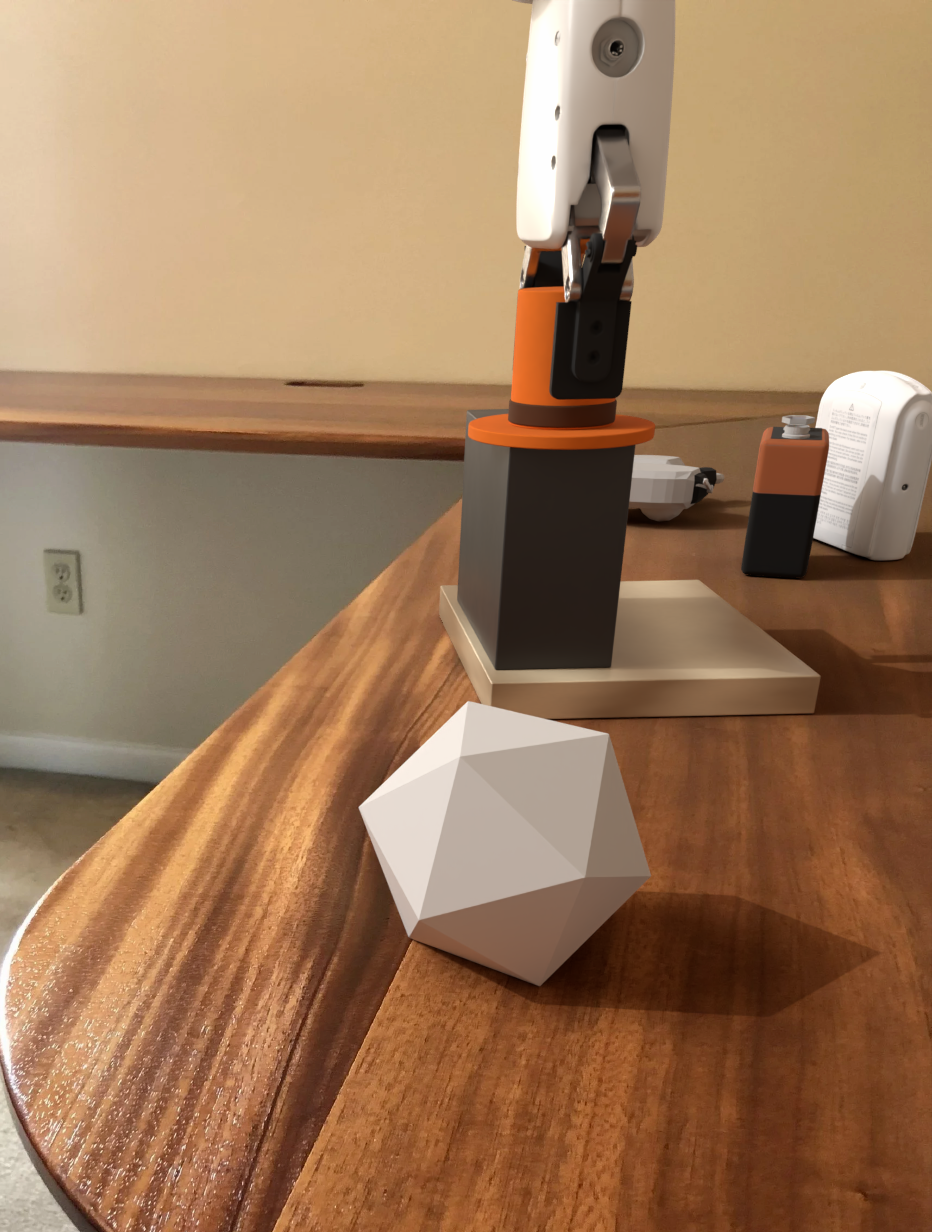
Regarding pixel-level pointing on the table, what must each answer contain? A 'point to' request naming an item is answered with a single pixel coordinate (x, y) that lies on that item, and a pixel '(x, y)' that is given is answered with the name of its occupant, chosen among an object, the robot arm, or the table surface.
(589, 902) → the die
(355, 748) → the table surface
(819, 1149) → the table surface
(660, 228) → the robot arm
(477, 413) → the tall dark grey box
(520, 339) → the hat
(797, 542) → the battery
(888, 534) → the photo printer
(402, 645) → the table surface
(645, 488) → the robot toy
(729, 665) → the wooden board
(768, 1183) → the table surface
